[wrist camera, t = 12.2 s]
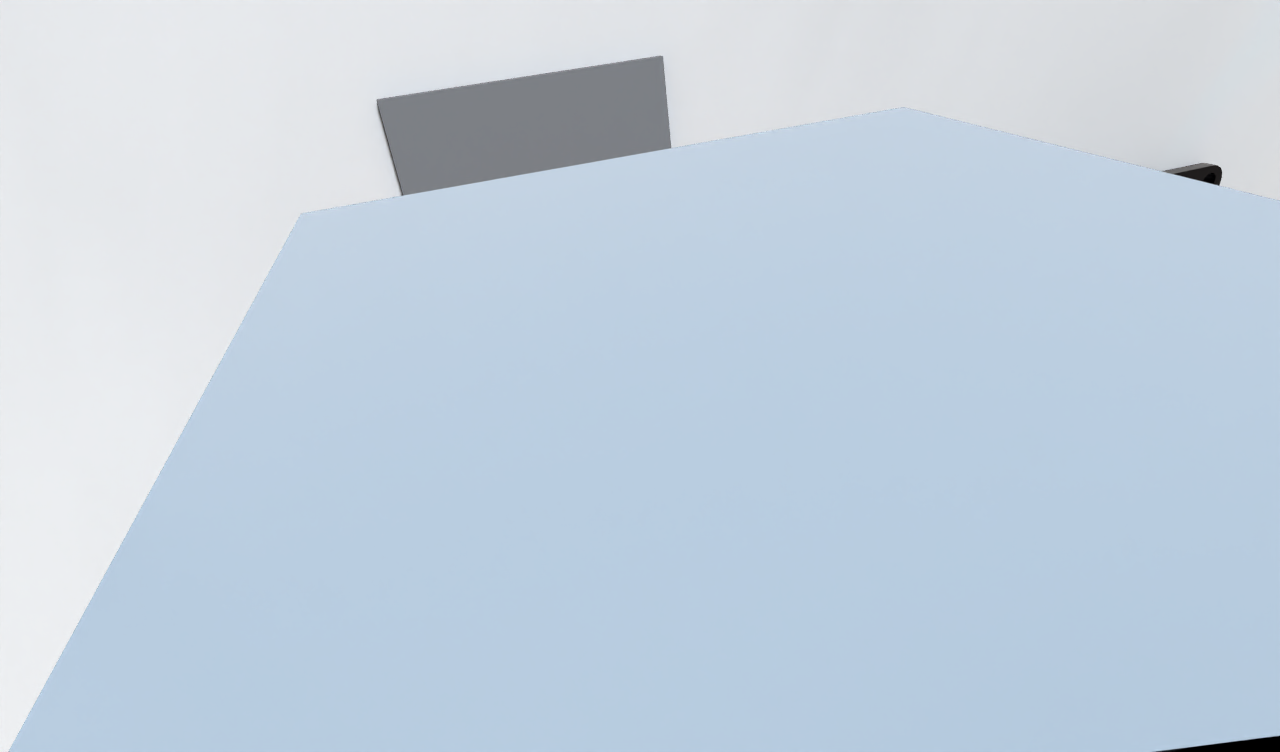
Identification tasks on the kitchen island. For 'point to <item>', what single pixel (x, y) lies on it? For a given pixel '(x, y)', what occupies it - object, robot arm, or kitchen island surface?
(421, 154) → the grey rectangular panel
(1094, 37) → the kitchen island surface
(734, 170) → the light blue block
